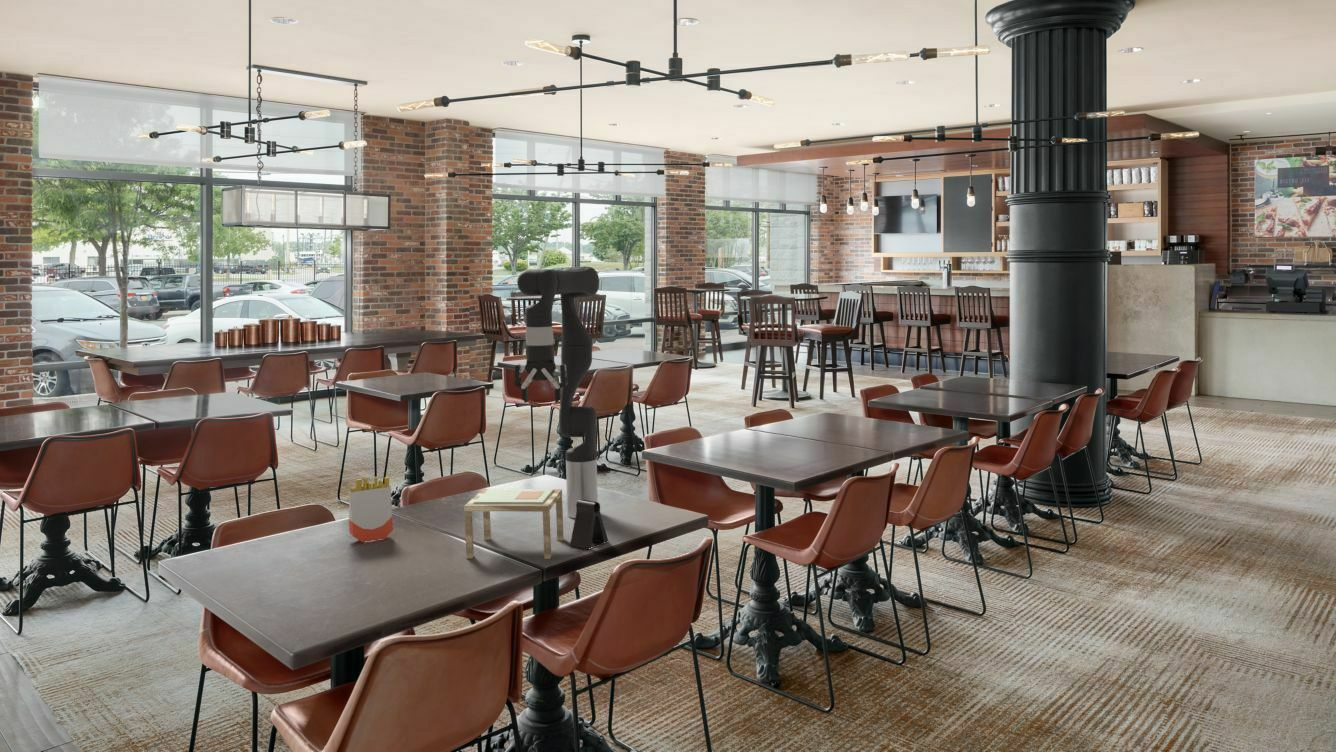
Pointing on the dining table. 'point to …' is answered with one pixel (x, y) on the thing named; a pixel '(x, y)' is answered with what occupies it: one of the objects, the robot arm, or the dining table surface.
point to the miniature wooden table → (486, 509)
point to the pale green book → (514, 496)
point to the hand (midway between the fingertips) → (541, 402)
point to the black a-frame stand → (588, 526)
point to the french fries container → (370, 510)
